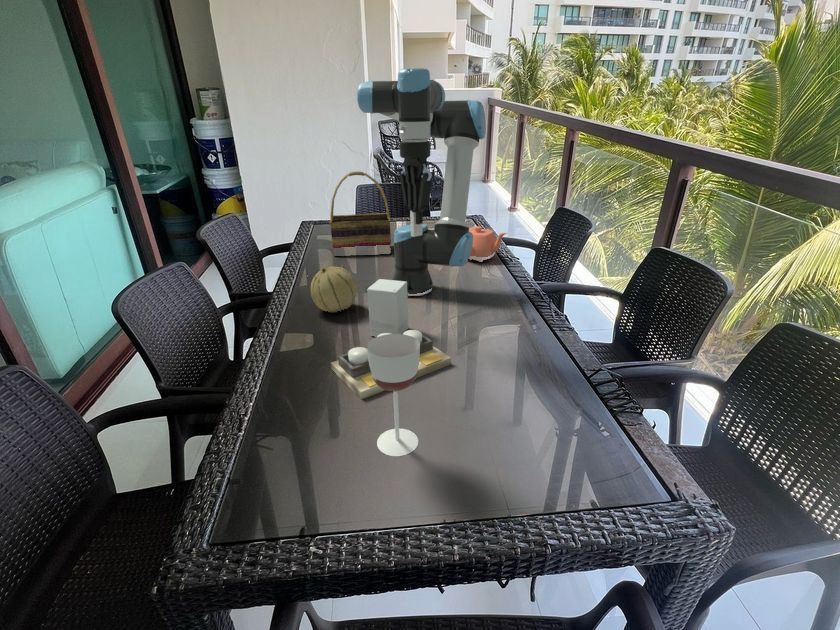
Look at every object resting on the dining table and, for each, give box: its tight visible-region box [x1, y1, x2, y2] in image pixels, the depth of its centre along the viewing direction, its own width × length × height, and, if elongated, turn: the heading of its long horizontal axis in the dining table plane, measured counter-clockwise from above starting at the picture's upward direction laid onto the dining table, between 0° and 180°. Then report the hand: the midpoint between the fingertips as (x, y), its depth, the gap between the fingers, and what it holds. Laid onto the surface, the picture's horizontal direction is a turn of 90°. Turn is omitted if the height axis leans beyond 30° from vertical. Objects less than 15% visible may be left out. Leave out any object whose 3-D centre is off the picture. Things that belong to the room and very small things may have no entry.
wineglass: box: [366, 334, 420, 457], centre depth 87 cm, size 9×10×22 cm
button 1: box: [347, 346, 369, 367], centre depth 114 cm, size 5×5×4 cm
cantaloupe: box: [310, 266, 358, 313], centre depth 147 cm, size 15×15×15 cm
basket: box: [328, 171, 392, 249], centre depth 202 cm, size 26×15×35 cm, turn 97°
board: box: [330, 334, 452, 400], centre depth 117 cm, size 16×26×4 cm, turn 125°
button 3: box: [403, 329, 423, 344], centre depth 122 cm, size 5×5×4 cm
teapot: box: [469, 225, 508, 257], centre depth 194 cm, size 18×18×14 cm
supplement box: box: [366, 278, 410, 337], centre depth 133 cm, size 9×9×15 cm
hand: (416, 235), depth 122 cm, fingers closed
